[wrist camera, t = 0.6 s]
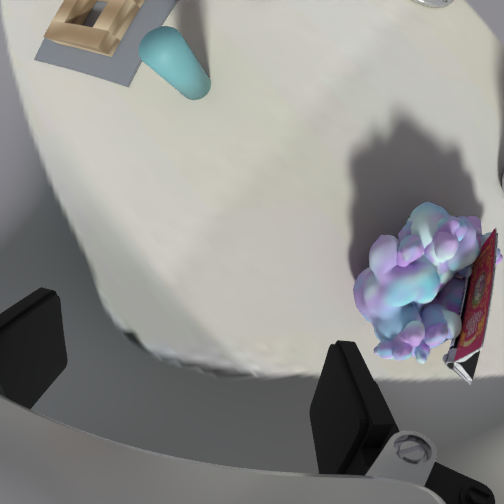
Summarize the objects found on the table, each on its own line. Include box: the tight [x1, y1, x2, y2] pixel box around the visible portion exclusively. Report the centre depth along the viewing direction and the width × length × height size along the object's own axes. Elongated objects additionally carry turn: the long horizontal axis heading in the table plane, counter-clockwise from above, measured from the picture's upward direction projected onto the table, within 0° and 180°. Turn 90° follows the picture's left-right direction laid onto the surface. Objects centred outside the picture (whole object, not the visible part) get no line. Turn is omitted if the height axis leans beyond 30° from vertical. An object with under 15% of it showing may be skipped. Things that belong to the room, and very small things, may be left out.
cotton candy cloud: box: [353, 201, 503, 385], centre depth 32 cm, size 20×22×18 cm
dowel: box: [139, 26, 211, 100], centre depth 27 cm, size 4×4×14 cm
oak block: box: [44, 0, 145, 57], centre depth 28 cm, size 10×10×4 cm
